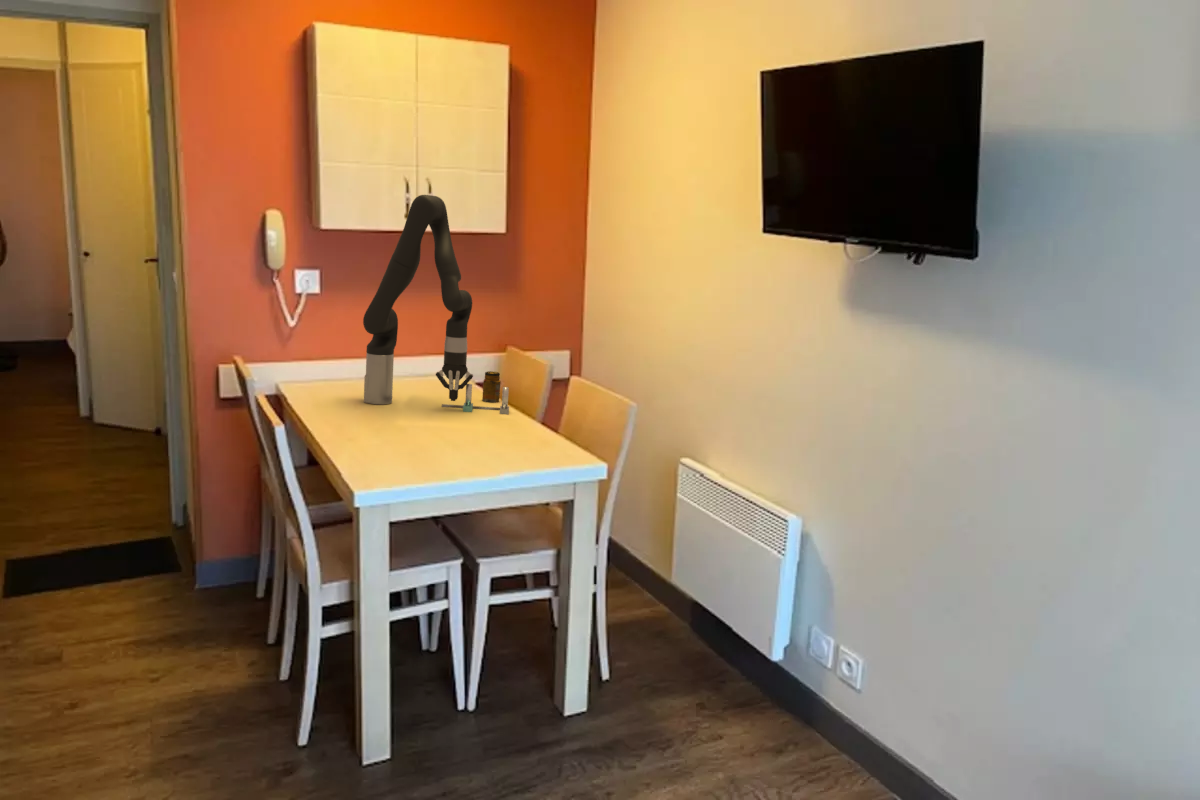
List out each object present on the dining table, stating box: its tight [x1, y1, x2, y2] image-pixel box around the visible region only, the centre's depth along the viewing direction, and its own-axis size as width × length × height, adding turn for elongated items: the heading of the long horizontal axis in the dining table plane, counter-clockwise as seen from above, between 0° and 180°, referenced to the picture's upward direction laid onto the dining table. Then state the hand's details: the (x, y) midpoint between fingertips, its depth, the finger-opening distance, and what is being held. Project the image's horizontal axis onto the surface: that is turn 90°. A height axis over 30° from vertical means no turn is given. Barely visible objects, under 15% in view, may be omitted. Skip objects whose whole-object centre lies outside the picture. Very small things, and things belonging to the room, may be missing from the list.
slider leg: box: [462, 383, 474, 413], centre depth 317 cm, size 3×5×9 cm, turn 4°
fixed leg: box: [499, 386, 510, 415], centre depth 318 cm, size 3×5×9 cm, turn 4°
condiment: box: [481, 370, 501, 404], centre depth 335 cm, size 7×8×12 cm
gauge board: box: [441, 403, 500, 411], centre depth 317 cm, size 24×14×2 cm, turn 94°
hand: (453, 400), depth 317 cm, fingers closed
